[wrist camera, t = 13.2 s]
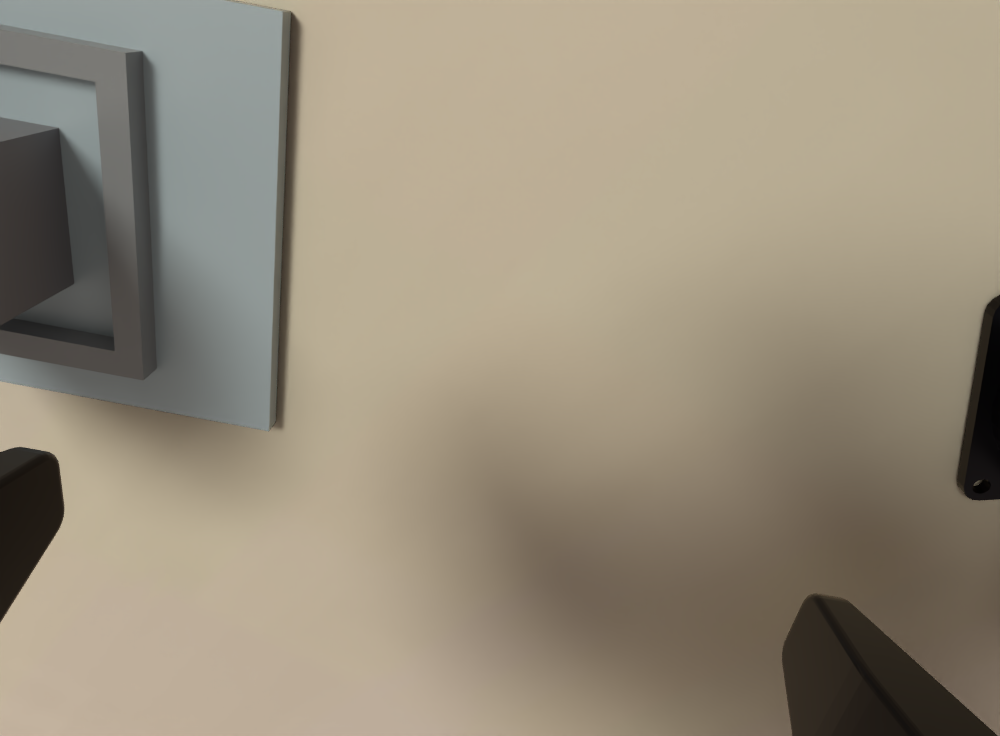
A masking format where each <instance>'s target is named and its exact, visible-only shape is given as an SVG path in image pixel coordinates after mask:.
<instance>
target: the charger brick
mask: <svg viewBox="0 0 1000 736" xmlns="http://www.w3.org/2000/svg"><path fill="white" fill-rule="evenodd" d="M73 284H74V274H73V264H72V254H71V244H70V234H69V224H68V214H67V204H66V195H65V185H64V175H63V165H62V155H61V145H60V135H59V128H57V127H51V126H46V125H40V124H35V123H29V122H24V121H19V120H13V119H8V118H2V117H0V325H2V324H4V323H6V322H7V321H9V320H11V319H13V318H14V317H16V316H18V315H20V314H22V313H23V312H25V311H27V310H29V309H30V308H32V307H34V306H36V305H38V304H39V303H41V302H43V301H45V300H46V299H48V298H50V297H52V296H54V295H55V294H57V293H59V292H61V291H62V290H64V289H66V288H68V287H70V286H71V285H73Z"/></svg>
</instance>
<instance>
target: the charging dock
mask: <svg viewBox="0 0 1000 736" xmlns="http://www.w3.org/2000/svg"><path fill="white" fill-rule="evenodd" d="M290 25H291V11H287V10H282V9H276V8H271V7H266V6H260V5H255V4H250V3H245V2H239V1H234V0H0V117H2V118H8V119H13V120H19V121H24V122H29V123H35V124H40V125H46V126H51V127H57V128H59V135H60V145H61V155H62V165H63V175H64V185H65V195H66V204H67V214H68V224H69V234H70V244H71V254H72V264H73V274H74V284H73V285H71V286H70V287H68V288H66V289H64V290H62V291H61V292H59V293H57V294H55V295H54V296H52V297H50V298H48V299H46V300H45V301H43V302H41V303H39V304H38V305H36V306H34V307H32V308H30V309H29V310H27V311H25V312H23V313H22V314H20V315H18V316H16V317H14V318H13V319H11V320H9V321H7V322H6V323H4V324H2V325H0V381H2V382H7V383H13V384H18V385H23V386H29V387H34V388H39V389H45V390H50V391H55V392H61V393H66V394H72V395H77V396H82V397H88V398H93V399H98V400H104V401H109V402H114V403H120V404H125V405H131V406H136V407H141V408H147V409H152V410H157V411H163V412H168V413H173V414H179V415H184V416H190V417H195V418H200V419H206V420H211V421H216V422H222V423H227V424H232V425H238V426H243V427H249V428H254V429H259V430H265V431H270V429H271V428H272V426H273V425H274V423H275V422H276V401H277V374H278V347H279V320H280V294H281V267H282V240H283V213H284V186H285V159H286V132H287V105H288V79H289V52H290Z"/></svg>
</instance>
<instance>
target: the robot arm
mask: <svg viewBox="0 0 1000 736" xmlns="http://www.w3.org/2000/svg"><path fill="white" fill-rule="evenodd" d="M982 479H984V480H983V482H982V483H980V484H979V485H976V486H973V485H974V483H975V482H977V481H978V480H982ZM957 482H958V486H959V487H960V489H961V490H962V491H963V492H964V494H965V495H966V496H967V497H968V498H970V499H972V500H994V499H1000V295H999V296H997V297H996V298H994V299H993V300H992V301H991V302H990V303H989V304H988V306H987V308H986V311H985V316H984V322H983V328H982V334H981V340H980V346H979V352H978V358H977V364H976V370H975V376H974V382H973V388H972V394H971V400H970V406H969V412H968V418H967V424H966V430H965V437H964V443H963V449H962V455H961V461H960V467H959V473H958V479H957ZM63 517H64V500H63V492H62V484H61V476H60V468H59V463H58V460H57V458H56V457H55V455H53V454H52V453H50V452H46V451H40V450H35V449H30V448H23V447H16V448H12V449H9V450H6V451H3V452H0V622H1V621H2V619H3V618H4V616H5V614H6V613H7V611H8V610H9V608H10V606H11V605H12V603H13V602H14V600H15V598H16V597H17V595H18V594H19V592H20V591H21V589H22V587H23V586H24V584H25V583H26V581H27V579H28V578H29V576H30V575H31V573H32V571H33V570H34V568H35V567H36V565H37V563H38V562H39V560H40V559H41V557H42V555H43V554H44V552H45V551H46V549H47V547H48V546H49V544H50V543H51V541H52V540H53V538H54V536H55V535H56V533H57V532H58V530H59V528H60V526H61V523H62V520H63ZM782 663H783V671H784V678H785V685H786V692H787V700H788V707H789V714H790V721H791V729H792V736H997V735H996V734H995V733H994V732H993V731H992V730H991V729H990V728H988V727H987V726H986V725H985V724H984V723H983V722H982V721H981V720H980V719H979V718H977V717H976V716H975V715H974V714H973V713H972V712H971V711H970V710H969V709H967V708H966V707H965V706H964V705H963V704H962V703H961V702H960V701H959V700H957V699H956V698H955V697H954V696H953V695H952V694H951V693H950V692H949V691H947V690H946V689H945V688H944V687H943V686H942V685H941V684H940V683H939V682H938V681H936V680H935V679H934V678H933V677H932V676H931V675H930V674H929V673H928V672H926V671H925V670H924V669H923V668H922V667H921V666H920V665H919V664H918V663H916V662H915V661H914V660H913V659H912V658H911V657H910V656H909V655H908V654H906V653H905V652H904V651H903V650H902V649H901V648H900V647H899V646H898V645H897V644H895V643H894V642H893V641H892V640H891V639H890V638H889V637H888V636H887V635H885V634H884V633H883V632H882V631H881V630H880V629H879V628H878V627H877V626H875V625H874V624H873V623H872V622H871V621H870V620H869V619H868V618H867V617H865V616H864V615H863V614H862V613H861V612H860V611H859V610H858V609H857V608H856V607H854V606H853V605H852V604H851V603H850V602H849V601H847V600H845V599H842V598H838V597H833V596H827V595H822V594H811V595H809V596H808V597H807V598H806V599H805V600H804V602H803V604H802V606H801V608H800V610H799V612H798V614H797V616H796V619H795V621H794V623H793V625H792V627H791V629H790V631H789V633H788V635H787V638H786V640H785V642H784V646H783V652H782Z"/></svg>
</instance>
